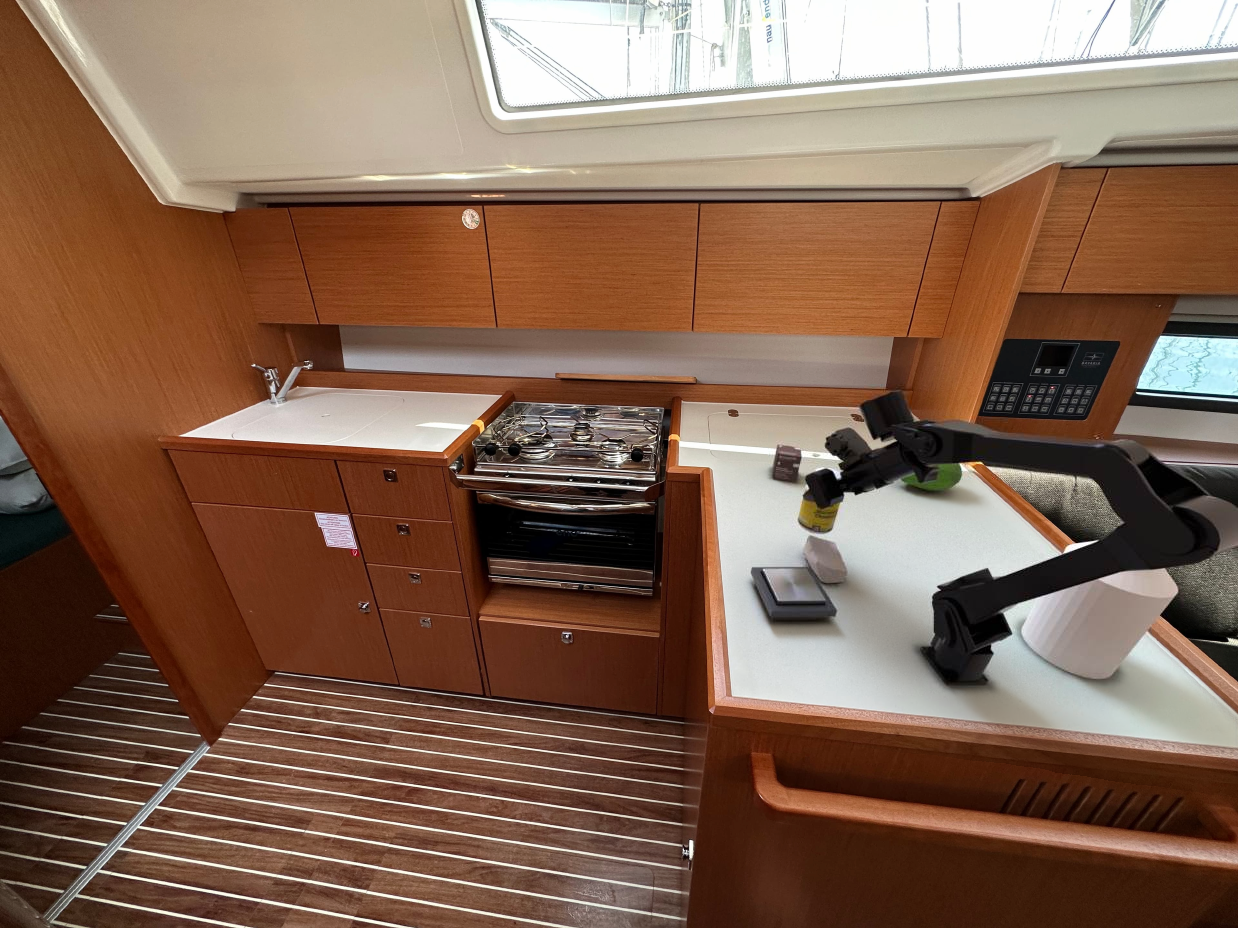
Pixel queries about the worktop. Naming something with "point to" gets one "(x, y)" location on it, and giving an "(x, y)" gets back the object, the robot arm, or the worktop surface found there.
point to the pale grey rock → (825, 560)
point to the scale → (792, 611)
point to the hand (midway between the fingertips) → (816, 493)
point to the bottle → (1097, 619)
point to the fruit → (939, 478)
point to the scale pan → (793, 587)
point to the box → (786, 463)
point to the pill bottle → (818, 514)
